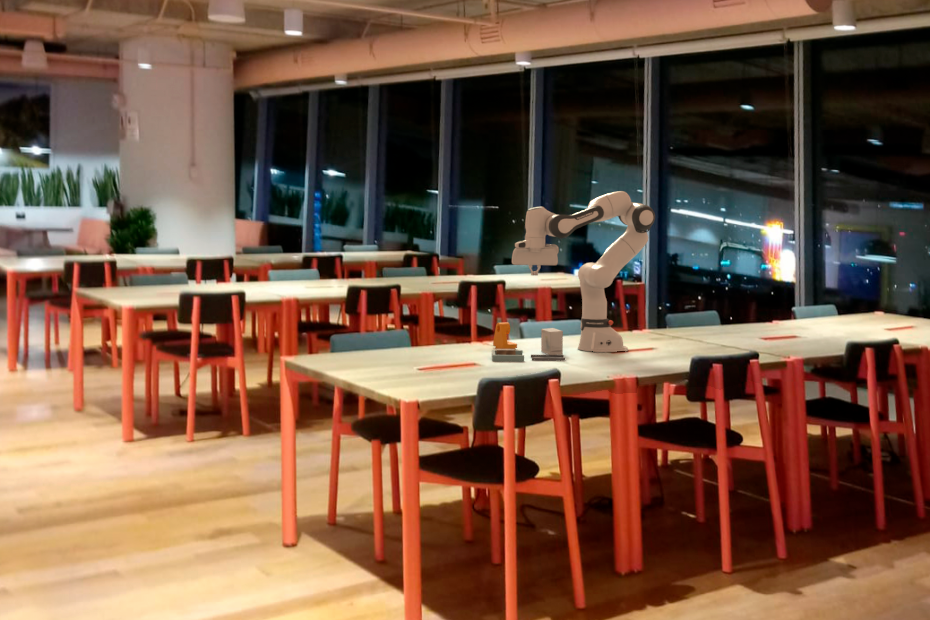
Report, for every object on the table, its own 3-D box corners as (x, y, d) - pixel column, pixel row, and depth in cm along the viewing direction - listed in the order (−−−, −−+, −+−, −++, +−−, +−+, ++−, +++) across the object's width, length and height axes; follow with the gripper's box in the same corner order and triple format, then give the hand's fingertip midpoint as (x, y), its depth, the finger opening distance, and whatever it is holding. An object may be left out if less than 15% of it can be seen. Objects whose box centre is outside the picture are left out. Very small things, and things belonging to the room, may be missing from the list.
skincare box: (540, 351, 456) (540, 328, 455) (553, 351, 458) (554, 327, 457) (549, 355, 446) (549, 331, 445) (563, 354, 448) (563, 330, 447)
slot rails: (563, 357, 439) (563, 354, 439) (565, 360, 431) (565, 357, 431) (530, 357, 439) (530, 354, 439) (532, 360, 431) (532, 357, 431)
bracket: (517, 350, 461) (518, 323, 459) (503, 350, 458) (503, 324, 456) (507, 346, 470) (507, 320, 469) (493, 347, 467) (493, 321, 466)
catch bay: (522, 356, 442) (522, 350, 442) (524, 361, 428) (524, 355, 428) (491, 355, 442) (491, 350, 442) (492, 361, 428) (492, 355, 428)
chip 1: (505, 358, 437) (505, 348, 437) (506, 359, 433) (506, 350, 433) (496, 358, 437) (496, 348, 437) (496, 359, 433) (496, 350, 433)
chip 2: (515, 358, 437) (515, 348, 437) (515, 359, 433) (515, 350, 433) (505, 358, 437) (505, 348, 437) (506, 359, 433) (506, 350, 433)
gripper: (558, 243, 452) (557, 275, 453) (511, 243, 452) (511, 274, 453) (559, 244, 446) (558, 276, 447) (512, 244, 446) (511, 275, 447)
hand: (534, 275), depth 450 cm, fingers closed
